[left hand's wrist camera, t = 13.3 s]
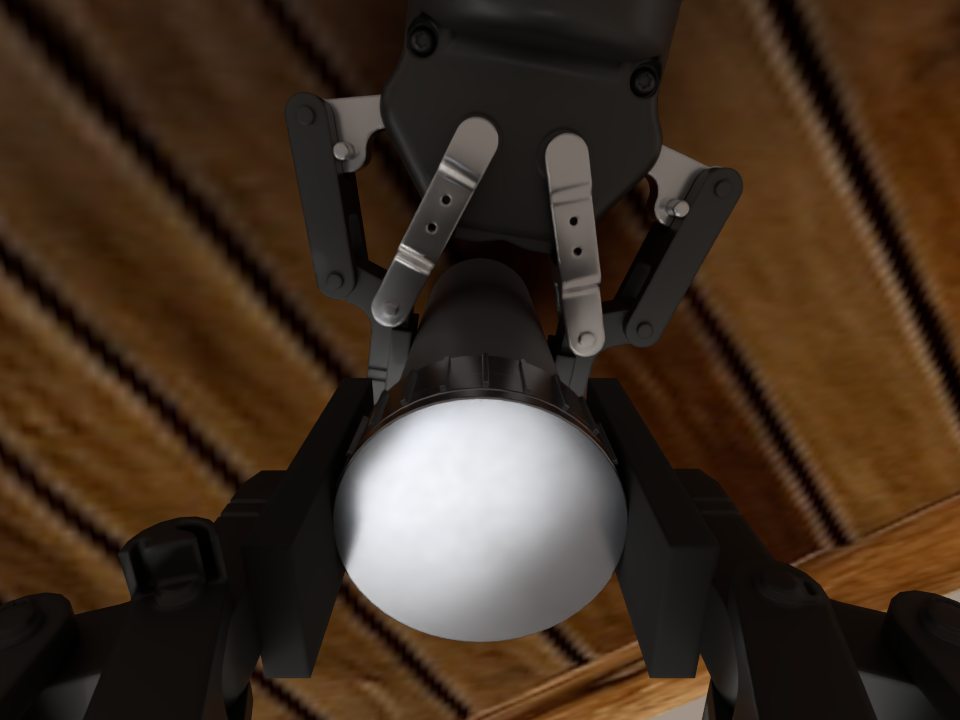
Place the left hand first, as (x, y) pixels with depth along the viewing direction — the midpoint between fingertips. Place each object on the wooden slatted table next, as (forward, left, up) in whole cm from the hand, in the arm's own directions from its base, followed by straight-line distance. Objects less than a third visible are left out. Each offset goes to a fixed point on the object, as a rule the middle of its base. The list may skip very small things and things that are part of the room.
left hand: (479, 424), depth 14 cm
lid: (0, 0, +4) cm, 4 cm away
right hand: (+2, -2, -5) cm, 6 cm away
